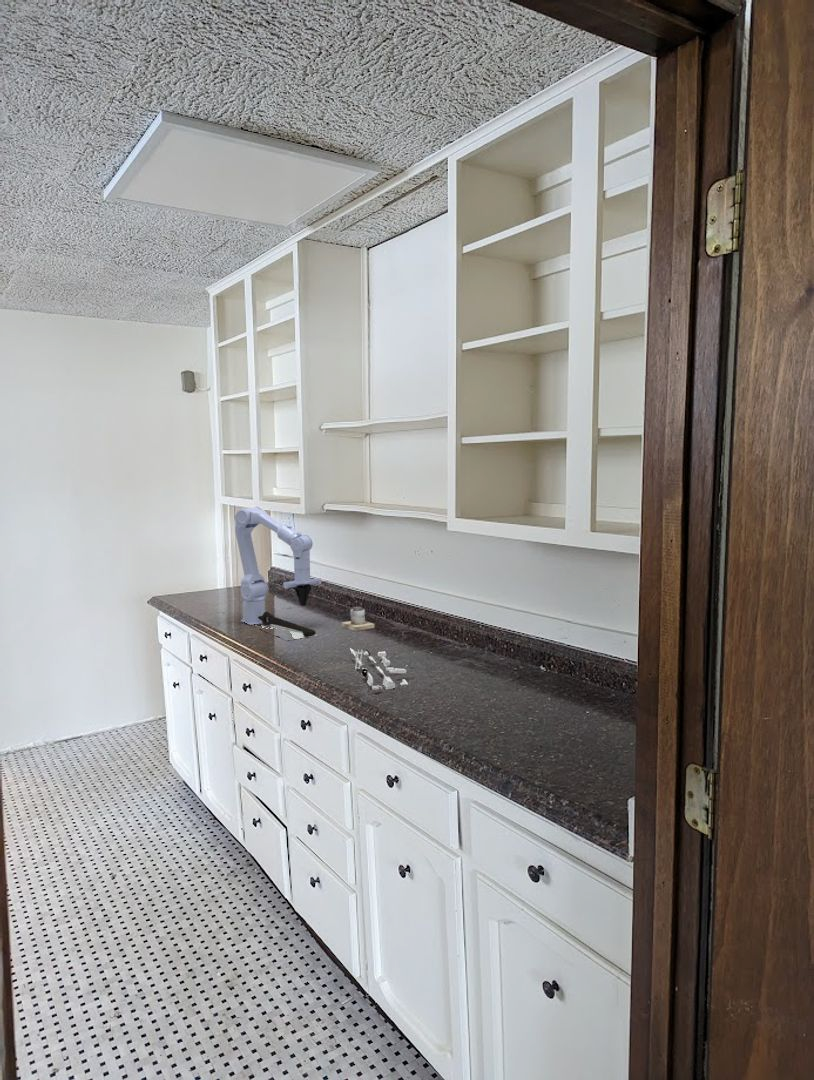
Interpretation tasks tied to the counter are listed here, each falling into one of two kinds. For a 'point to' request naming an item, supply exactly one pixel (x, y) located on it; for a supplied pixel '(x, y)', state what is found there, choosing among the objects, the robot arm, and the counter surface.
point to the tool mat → (294, 633)
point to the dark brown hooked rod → (285, 624)
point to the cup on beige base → (358, 620)
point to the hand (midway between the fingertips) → (303, 605)
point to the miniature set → (387, 680)
